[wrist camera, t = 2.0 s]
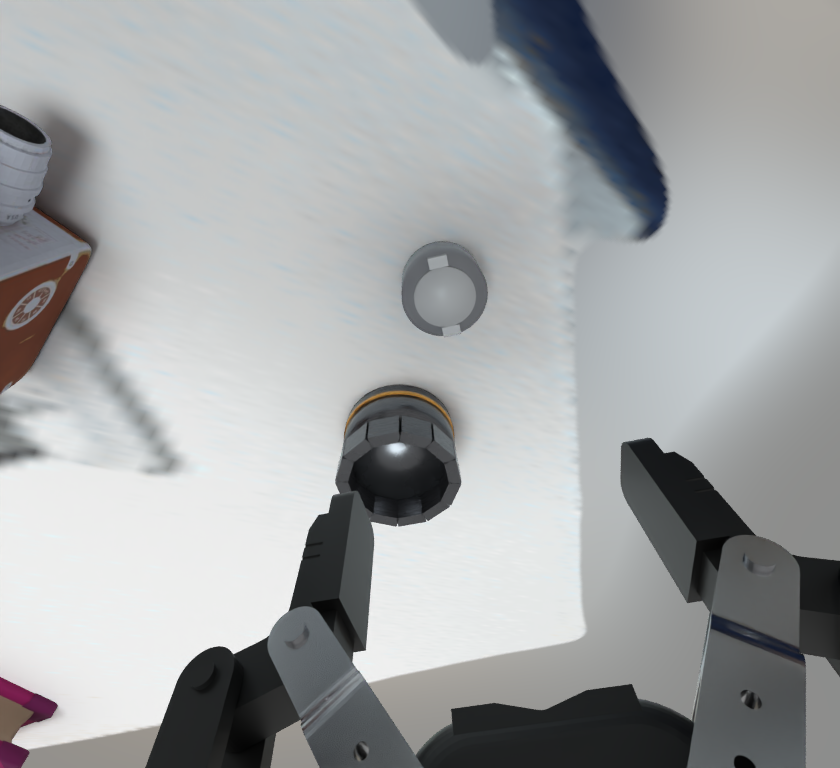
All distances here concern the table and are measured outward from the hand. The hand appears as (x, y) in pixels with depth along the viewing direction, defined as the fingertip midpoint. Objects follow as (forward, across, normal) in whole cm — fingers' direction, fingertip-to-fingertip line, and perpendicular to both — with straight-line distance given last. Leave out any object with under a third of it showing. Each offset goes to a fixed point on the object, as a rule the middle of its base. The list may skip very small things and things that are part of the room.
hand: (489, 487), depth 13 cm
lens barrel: (+21, +6, +12) cm, 25 cm away
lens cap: (+21, 0, 0) cm, 21 cm away
